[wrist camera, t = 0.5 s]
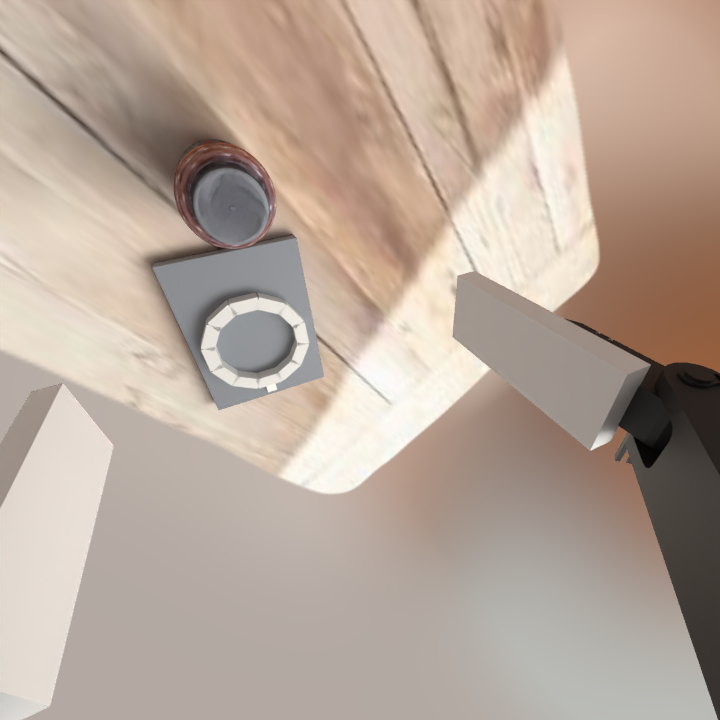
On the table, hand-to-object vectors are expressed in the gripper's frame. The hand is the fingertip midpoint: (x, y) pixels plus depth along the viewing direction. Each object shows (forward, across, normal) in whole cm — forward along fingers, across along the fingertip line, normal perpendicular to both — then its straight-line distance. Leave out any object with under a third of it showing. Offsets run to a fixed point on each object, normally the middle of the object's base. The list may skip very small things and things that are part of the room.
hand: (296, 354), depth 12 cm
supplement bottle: (+23, 0, +3) cm, 23 cm away
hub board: (+22, -2, -10) cm, 25 cm away
